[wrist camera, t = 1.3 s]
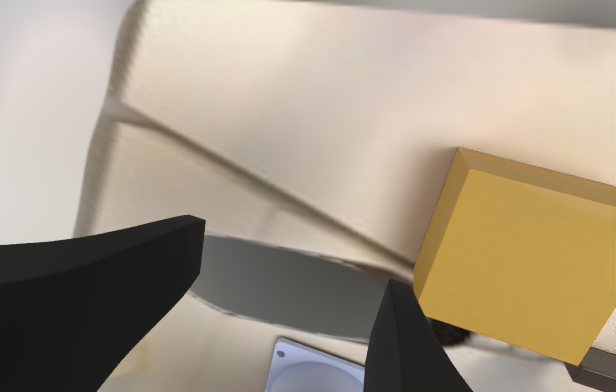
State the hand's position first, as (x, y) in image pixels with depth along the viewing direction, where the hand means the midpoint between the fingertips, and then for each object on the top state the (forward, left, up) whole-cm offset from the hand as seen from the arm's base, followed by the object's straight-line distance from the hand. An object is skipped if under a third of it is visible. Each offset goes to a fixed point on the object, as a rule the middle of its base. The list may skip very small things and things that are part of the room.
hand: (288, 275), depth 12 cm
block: (0, -9, -9) cm, 13 cm away
